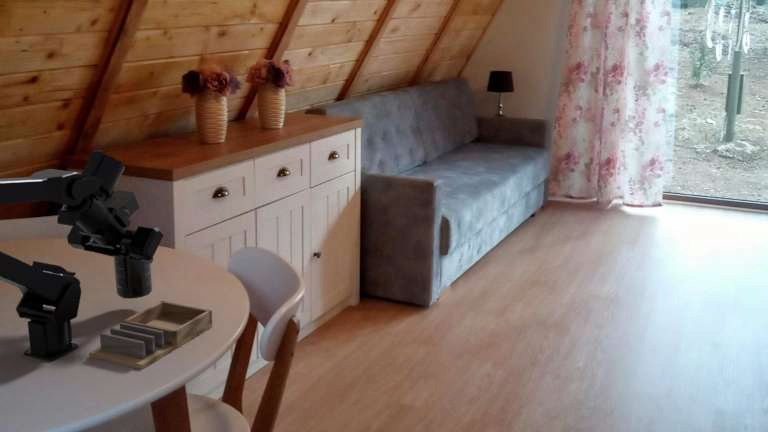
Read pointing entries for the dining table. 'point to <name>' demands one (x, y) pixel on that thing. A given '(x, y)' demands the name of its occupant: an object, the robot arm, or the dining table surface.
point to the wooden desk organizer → (152, 334)
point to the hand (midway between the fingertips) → (137, 258)
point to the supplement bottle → (131, 274)
